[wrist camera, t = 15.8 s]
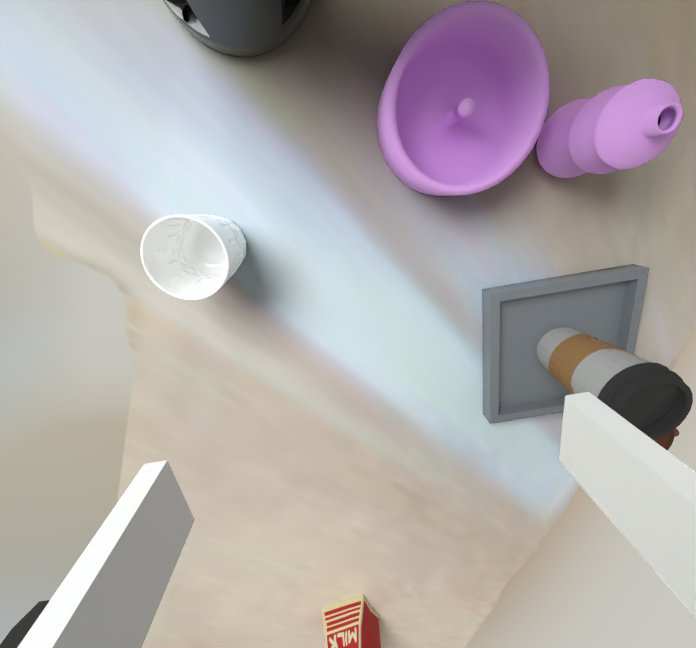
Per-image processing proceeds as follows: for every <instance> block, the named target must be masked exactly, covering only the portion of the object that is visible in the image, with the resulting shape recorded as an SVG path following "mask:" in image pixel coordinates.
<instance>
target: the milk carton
mask: <svg viewBox="0 0 696 648" xmlns="http://www.w3.org/2000/svg"><path fill="white" fill-rule="evenodd" d="M321 612H322V620H323V627H324V635H325V642H326V648H381V637H380V623H379V614H377V613H376V612H375V611H374V610H373V609H372V608H371V607H370V606H369V604H368V602H367V600H366V598H365V596H364V595H361V596H357V597H354V598H351V599H348V600H345V601H342V602H339V603H336V604H333V605H330V606H327V607H324V608H321Z"/></svg>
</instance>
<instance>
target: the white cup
mask: <svg viewBox="0 0 696 648" xmlns="http://www.w3.org/2000/svg"><path fill="white" fill-rule="evenodd" d="M245 256H246V240H245V237H244V235H243V233H242V231H241V229H240V228H239V227H238V226H237V225H235V224H234V223H233V222H232V221H231V220H229V219H226V218H223V217H220V216H212V215H201V214H193V215H169V216H166V217H163V218H160V219H158V220H157V221H155V222H154V223H153V224H152V225H151V226H150V227H149V228H148V229H147V230H146V232H145V234H144V236H143V239H142V242H141V260H142V263H143V266H144V269H145V271H146V273H147V274H148V276H149V278H150V279H151V280H152V281H153V283H154V284H155V285H156V286H157V287H159V288H160V289H161V290H162V291H164V292H165V293H167V294H169V295H171V296H173V297H176V298H179V299H183V300H200V299H204V298H207V297H209V296H211V295H213V294H215V293H216V292H217V291H218V290H219V289H220V288H221V287H222V286H223V285H224V284H225V283H226V282H227V281H228V280H229V279H230V278H231V277H232V275H233V274H234V273H235V272H236V270H237V269H238V268H239V266H240V265H241V264H242V262H243V260H244V258H245Z"/></svg>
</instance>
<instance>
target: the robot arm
mask: <svg viewBox="0 0 696 648" xmlns="http://www.w3.org/2000/svg"><path fill="white" fill-rule="evenodd" d="M163 1H164V3H165V4H166V5H167V7H168V8H169V9H170V11H171V12H172V13H173V14H174V15H175V17H176V18H177V19H178V20H179V21H180V23H181V24H182V25H183V26H184V27H185V28H186V29H187V30H188V31H189V32H190V33H191V34H192V35H193V36H194V37H196V38H197V39H198V40H200V41H201V42H202V43H204V44H205V45H207V46H209V47H211V48H213V49H214V50H217V51H219V52H222V53H225V54H229V55H233V56H243V57H245V56H256V55H260V54H263V53H266V52H269V51H271V50H273V49H275V48H277V47H278V46H280V45H281V44H282V43H284V42H285V41H286V40H287V39H288V38H289V37H290V36H291V35H292V34H293V33H294V32H295V30H296V29H297V28H298V26H299V25H300V23H301V21H302V20H303V18H304V16H305V14H306V12H307V9H308V7H309V4H310V1H311V0H163ZM559 462H560V463H561V464H562V465H563V466H564V468H565V469H566V470H567V471H568V472H569V473H570V474H571V476H572V477H573V478H574V479H575V480H576V481H577V483H578V484H579V485H580V486H581V487H582V488H583V489H584V491H585V492H586V493H587V494H588V495H589V496H590V497H591V499H592V500H593V501H594V502H595V503H596V504H597V505H598V507H599V508H600V509H601V510H602V511H603V512H604V514H605V515H606V516H607V517H608V518H609V519H610V521H611V522H612V523H613V524H614V525H615V526H616V527H617V529H619V531H620V532H621V533H622V534H623V535H624V537H625V538H626V539H627V540H628V541H629V542H630V543H631V545H632V546H633V547H634V548H635V549H636V550H637V552H638V553H639V554H640V555H641V556H642V557H643V558H644V560H645V561H646V562H647V563H648V564H649V565H650V567H651V568H652V569H653V570H654V571H655V572H656V573H657V575H658V576H659V577H660V578H661V579H662V580H663V582H664V583H665V584H666V585H667V586H668V587H669V588H670V590H671V591H672V592H673V593H674V594H675V595H676V597H677V598H678V599H679V600H680V601H681V602H682V603H683V605H684V606H685V607H686V608H687V609H688V610H689V611H690V613H691V614H692V615H693V616H694V617H695V618H696V472H695V471H693V470H692V469H691V468H690V467H688V466H687V465H685V464H684V463H683V462H682V461H680V460H679V459H678V458H676V457H675V456H674V455H672V454H671V453H670V452H668V451H667V450H666V449H664V448H663V447H662V446H660V445H659V444H658V443H656V442H655V441H654V440H652V439H651V438H650V437H648V436H647V435H646V434H644V433H643V432H642V431H640V430H639V429H638V428H636V427H635V426H634V425H632V424H631V423H630V422H628V421H627V420H626V419H624V418H623V417H622V416H620V415H619V414H618V413H616V412H615V411H614V410H612V409H611V408H610V407H608V406H607V405H606V404H604V403H603V402H602V401H600V400H599V399H598V398H596V397H595V396H594V395H592V394H591V393H590V392H584V393H578V394H572V395H566V396H565V403H564V413H563V423H562V433H561V443H560V453H559ZM193 522H194V518H193V515H192V513H191V511H190V509H189V507H188V504H187V502H186V500H185V498H184V496H183V493H182V491H181V489H180V487H179V485H178V483H177V480H176V478H175V476H174V474H173V472H172V469H171V467H170V465H169V463H168V461H167V460H166V461H159V462H153V463H147V464H144V465H143V467H142V468H141V469H140V471H139V472H138V474H137V475H136V477H135V478H134V480H133V481H132V482H131V484H130V485H129V487H128V488H127V490H126V491H125V493H124V494H123V495H122V497H121V498H120V500H119V501H118V503H117V504H116V506H115V507H114V509H113V510H112V511H111V513H110V514H109V516H108V517H107V519H106V520H105V522H104V523H103V524H102V526H101V528H100V529H99V530H98V532H97V533H96V535H95V536H94V538H93V539H92V540H91V542H90V543H89V545H88V546H87V548H86V549H85V550H84V552H83V553H82V555H81V556H80V558H79V559H78V561H77V562H76V564H75V565H74V567H73V568H72V569H71V571H70V572H69V574H68V575H67V577H66V578H65V579H64V581H63V582H62V584H61V585H60V587H59V588H58V590H57V591H56V592H55V594H54V595H53V597H52V598H51V600H48V601H41V602H39V603H38V604H37V605H36V606H35V607H33V608H32V610H31V611H30V612H28V613H27V614H26V615H25V616H24V618H22V619H21V620H20V621H19V623H17V625H15V626H14V627H13V629H12V630H11V631H10V632H9V634H8V635H7V636H6V638H5V639H4V640H3V642H2V643H1V644H0V648H141V647H142V644H143V642H144V640H145V637H146V635H147V632H148V630H149V628H150V625H151V623H152V620H153V618H154V616H155V613H156V611H157V608H158V606H159V604H160V601H161V599H162V596H163V594H164V592H165V589H166V587H167V584H168V582H169V580H170V577H171V575H172V572H173V570H174V568H175V565H176V563H177V560H178V558H179V556H180V553H181V551H182V548H183V546H184V544H185V541H186V539H187V536H188V534H189V532H190V529H191V527H192V524H193Z"/></svg>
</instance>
